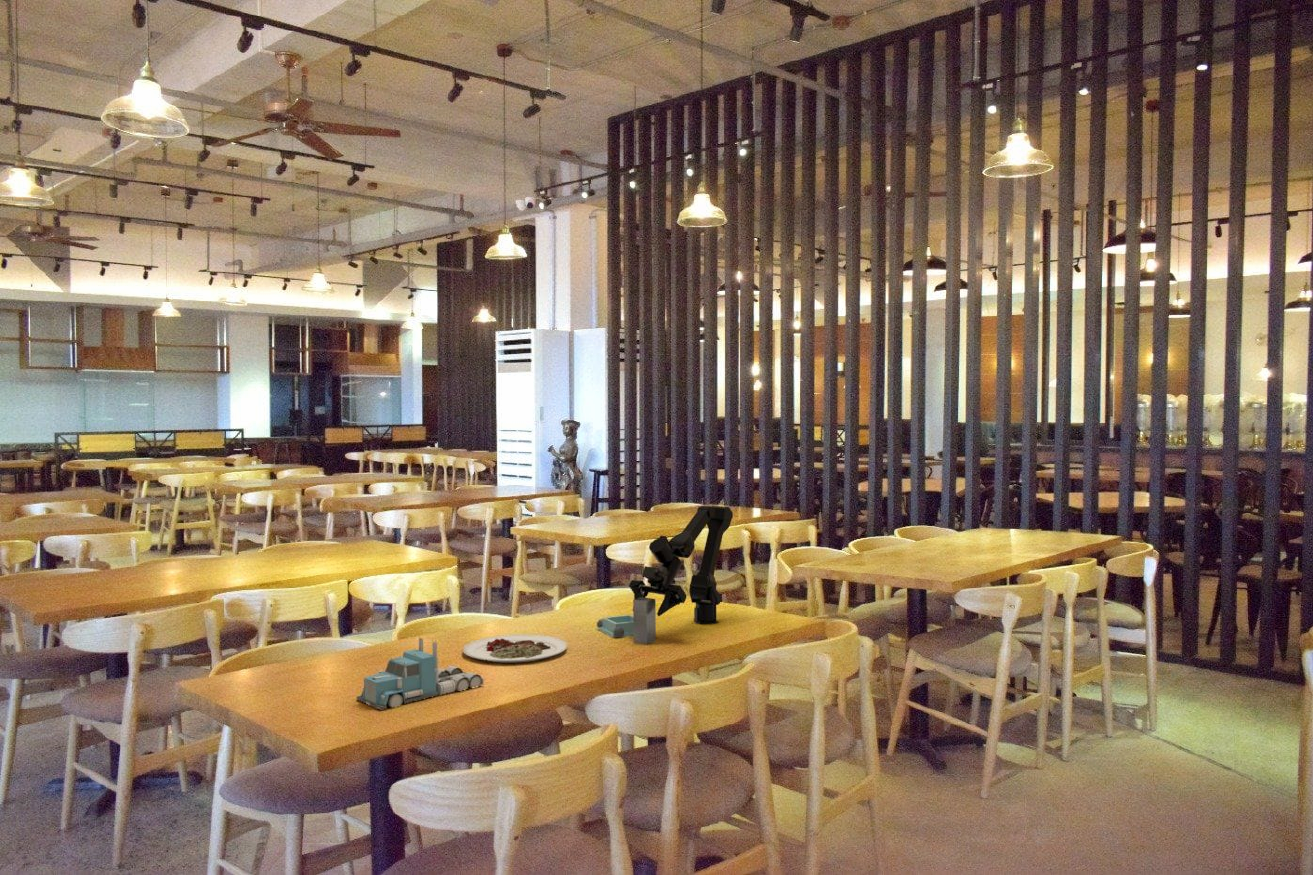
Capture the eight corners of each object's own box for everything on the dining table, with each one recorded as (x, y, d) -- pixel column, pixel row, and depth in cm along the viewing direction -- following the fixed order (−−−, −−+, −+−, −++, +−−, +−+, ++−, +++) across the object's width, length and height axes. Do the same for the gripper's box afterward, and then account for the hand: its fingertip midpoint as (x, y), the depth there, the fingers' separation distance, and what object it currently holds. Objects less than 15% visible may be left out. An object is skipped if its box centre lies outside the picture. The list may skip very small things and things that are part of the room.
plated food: (548, 669, 261) (548, 656, 261) (445, 663, 267) (445, 651, 267) (579, 642, 290) (579, 631, 290) (486, 638, 296) (486, 627, 296)
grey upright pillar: (642, 639, 293) (642, 597, 293) (655, 641, 290) (655, 599, 290) (633, 642, 289) (633, 599, 289) (646, 644, 287) (646, 601, 286)
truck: (355, 702, 233) (354, 640, 232) (457, 678, 253) (457, 622, 252) (380, 713, 224) (379, 649, 224) (483, 687, 244) (483, 629, 244)
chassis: (631, 625, 312) (631, 613, 312) (650, 634, 300) (650, 621, 300) (596, 629, 306) (596, 617, 306) (614, 638, 294) (614, 625, 294)
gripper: (632, 553, 300) (609, 594, 291) (681, 559, 289) (659, 601, 280) (647, 575, 306) (625, 615, 297) (695, 581, 295) (675, 623, 286)
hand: (645, 613), depth 290 cm, fingers open, 9 cm apart
